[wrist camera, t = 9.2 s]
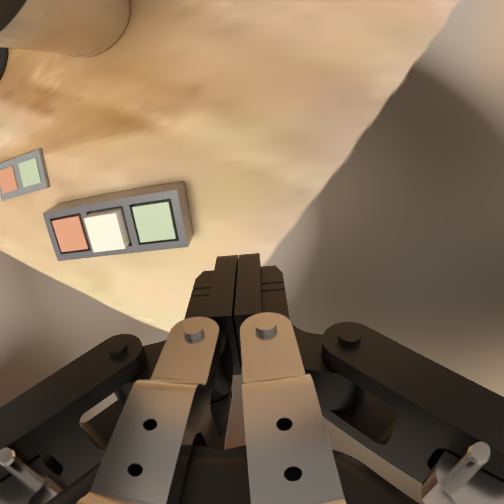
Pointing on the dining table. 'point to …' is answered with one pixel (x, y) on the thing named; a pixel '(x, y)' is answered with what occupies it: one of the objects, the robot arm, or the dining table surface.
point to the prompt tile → (23, 175)
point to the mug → (3, 60)
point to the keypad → (127, 202)
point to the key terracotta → (70, 233)
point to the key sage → (155, 220)
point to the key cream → (107, 229)
